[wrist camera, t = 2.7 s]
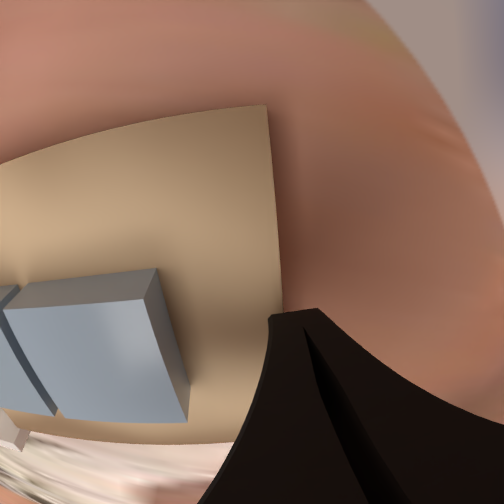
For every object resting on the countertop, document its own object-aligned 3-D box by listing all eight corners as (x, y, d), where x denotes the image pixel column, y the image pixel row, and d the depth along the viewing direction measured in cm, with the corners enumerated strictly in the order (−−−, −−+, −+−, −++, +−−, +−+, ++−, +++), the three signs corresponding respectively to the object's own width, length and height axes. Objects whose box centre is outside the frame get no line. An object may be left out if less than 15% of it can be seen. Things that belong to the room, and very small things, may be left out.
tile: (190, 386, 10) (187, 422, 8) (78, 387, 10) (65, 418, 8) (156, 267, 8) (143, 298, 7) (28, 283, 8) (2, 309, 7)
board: (282, 401, 13) (289, 435, 12) (29, 403, 13) (17, 427, 11) (258, 108, 9) (265, 104, 7) (-62, 195, 8) (-91, 209, 6)
